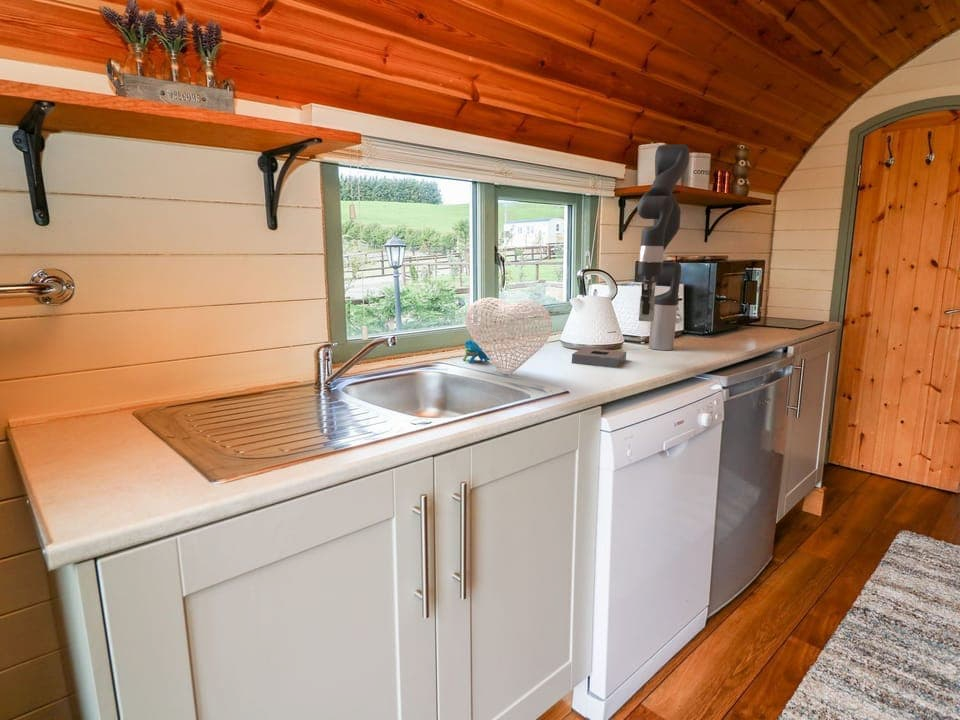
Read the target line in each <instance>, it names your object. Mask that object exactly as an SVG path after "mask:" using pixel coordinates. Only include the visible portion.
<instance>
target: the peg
mask: <svg viewBox="0 0 960 720" xmlns="http://www.w3.org/2000/svg"><path fill="white" fill-rule="evenodd" d="M655 296H656V295H654V296H651V300H650V301H651V302H650V309H649V314H648V315H643V314H642V305H643V303H642V301H641V297H640V298H639V299H640V301H639V312H638V321H639V322H648V323H649V322H650V323H651V322H652V321H653V316H654V304H655ZM645 298H648V296H645Z"/></svg>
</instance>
